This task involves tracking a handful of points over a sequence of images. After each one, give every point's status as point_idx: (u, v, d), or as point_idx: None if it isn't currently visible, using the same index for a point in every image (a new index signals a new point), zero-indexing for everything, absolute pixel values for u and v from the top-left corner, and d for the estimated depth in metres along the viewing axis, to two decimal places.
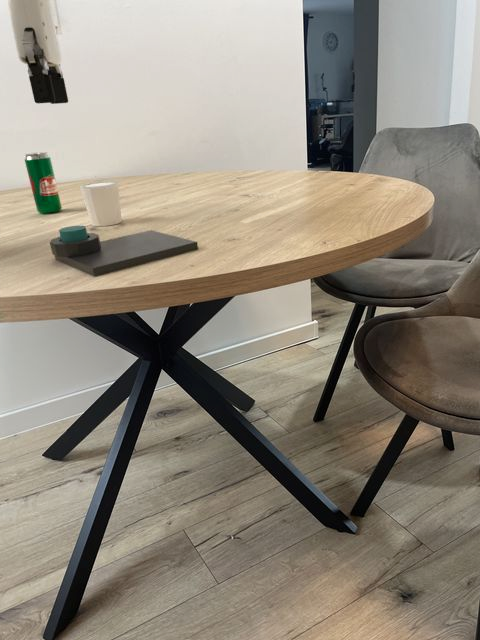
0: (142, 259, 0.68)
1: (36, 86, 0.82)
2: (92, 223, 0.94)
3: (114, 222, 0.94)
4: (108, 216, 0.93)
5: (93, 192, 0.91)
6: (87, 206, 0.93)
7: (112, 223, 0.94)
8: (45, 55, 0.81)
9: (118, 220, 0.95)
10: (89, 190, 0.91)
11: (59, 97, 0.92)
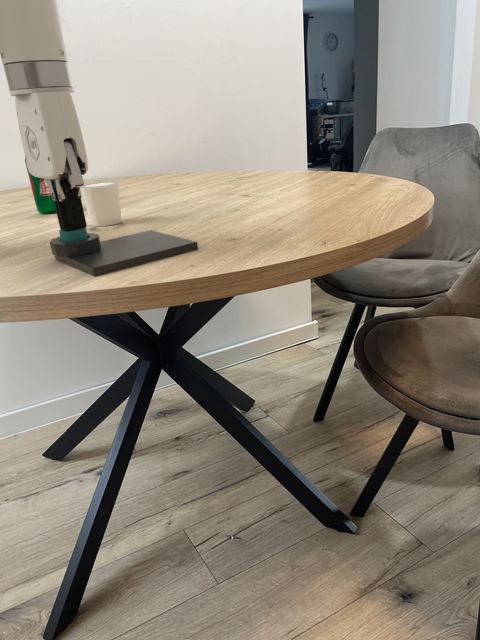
0: (142, 259, 0.68)
1: (70, 213, 0.69)
2: (92, 223, 0.94)
3: (114, 222, 0.94)
4: (108, 216, 0.93)
5: (93, 192, 0.91)
6: (87, 206, 0.93)
7: (112, 223, 0.94)
8: None
9: (118, 220, 0.95)
10: (89, 190, 0.91)
11: None
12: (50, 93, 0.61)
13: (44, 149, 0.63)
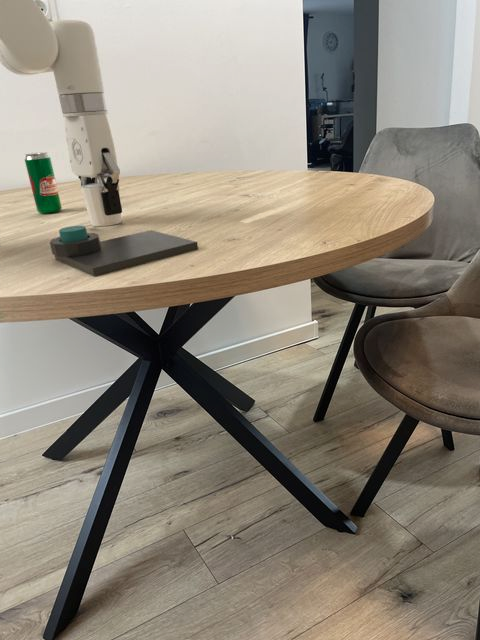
0: (142, 259, 0.68)
1: (110, 201, 0.91)
2: (92, 223, 0.94)
3: (114, 222, 0.94)
4: (108, 216, 0.93)
5: (93, 192, 0.91)
6: (87, 206, 0.93)
7: (112, 223, 0.94)
8: None
9: (118, 220, 0.95)
10: (89, 190, 0.91)
11: None
12: (93, 116, 0.85)
13: (87, 156, 0.87)
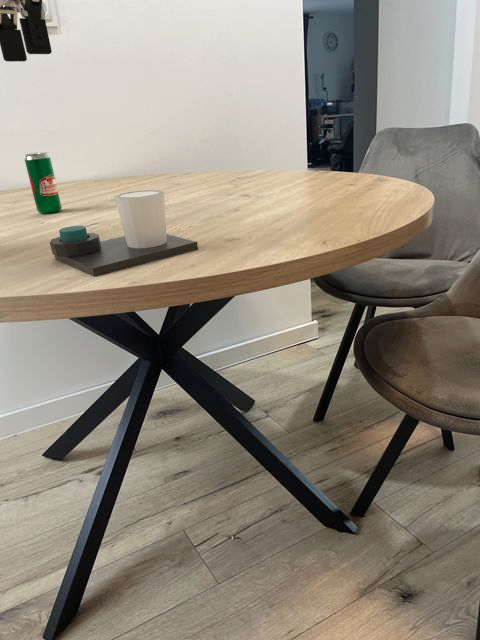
0: (142, 259, 0.68)
1: (33, 31, 0.67)
2: (130, 244, 0.72)
3: (158, 243, 0.72)
4: (151, 235, 0.71)
5: (132, 205, 0.69)
6: (124, 222, 0.71)
7: (156, 244, 0.72)
8: None
9: (163, 240, 0.73)
10: (128, 202, 0.69)
11: (17, 53, 0.75)
12: None
13: None
